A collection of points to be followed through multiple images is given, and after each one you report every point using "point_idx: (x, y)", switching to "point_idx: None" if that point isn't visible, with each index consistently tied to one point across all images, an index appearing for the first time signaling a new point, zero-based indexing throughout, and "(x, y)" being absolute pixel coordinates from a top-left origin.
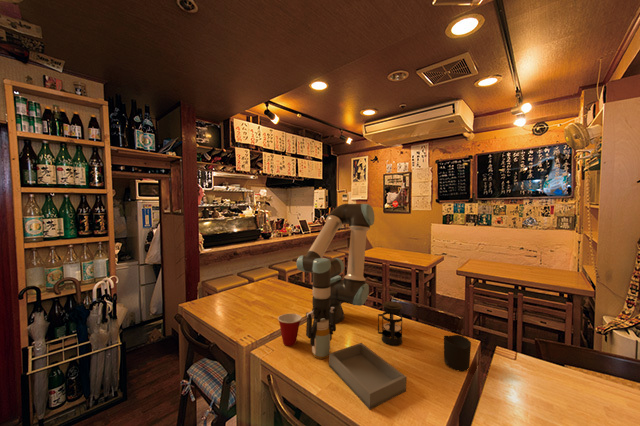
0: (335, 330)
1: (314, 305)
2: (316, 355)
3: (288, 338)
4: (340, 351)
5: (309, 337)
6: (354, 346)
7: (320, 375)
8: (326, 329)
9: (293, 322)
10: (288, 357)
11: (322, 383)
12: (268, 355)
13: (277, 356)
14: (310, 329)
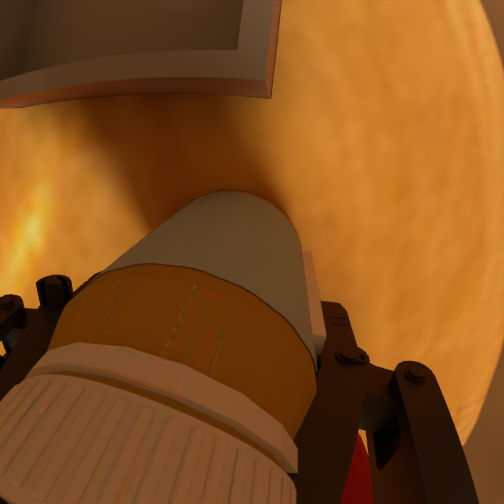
0: (5, 295)
1: None
2: (299, 241)
3: (363, 459)
4: (134, 53)
5: (423, 370)
6: (8, 82)
7: (389, 61)
8: (94, 341)
9: None
10: (424, 349)
11: (416, 6)
12: (465, 400)
13: (450, 379)
14: (443, 470)
